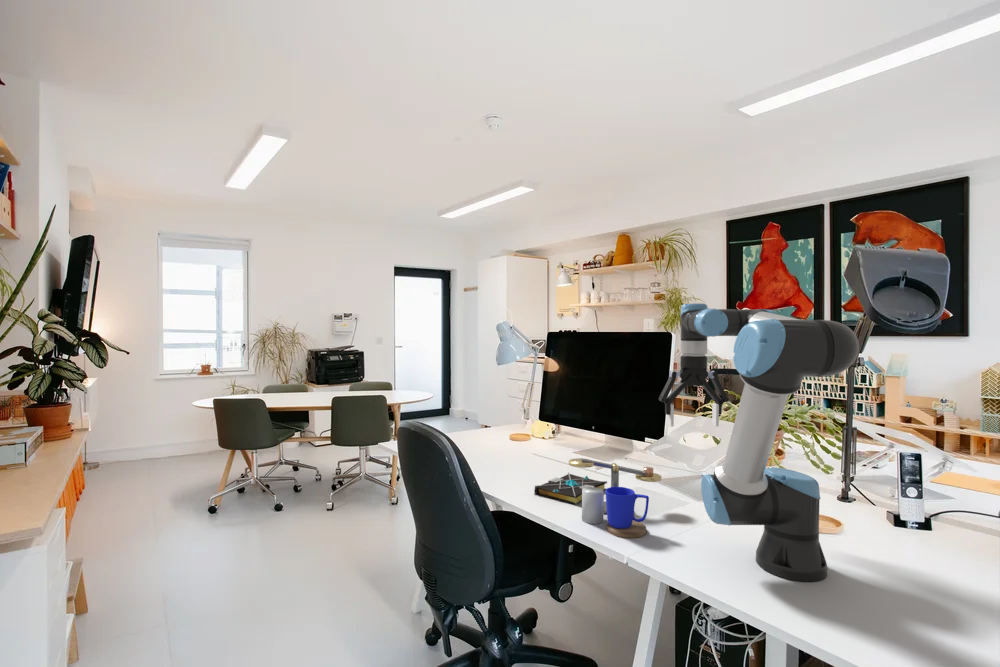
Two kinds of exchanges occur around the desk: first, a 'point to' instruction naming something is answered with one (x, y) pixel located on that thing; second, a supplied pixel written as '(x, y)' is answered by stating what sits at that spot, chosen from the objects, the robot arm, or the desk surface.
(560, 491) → the book
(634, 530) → the dish
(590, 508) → the white cylinder
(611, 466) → the balance
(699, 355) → the robot arm
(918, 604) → the desk surface
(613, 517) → the mug
